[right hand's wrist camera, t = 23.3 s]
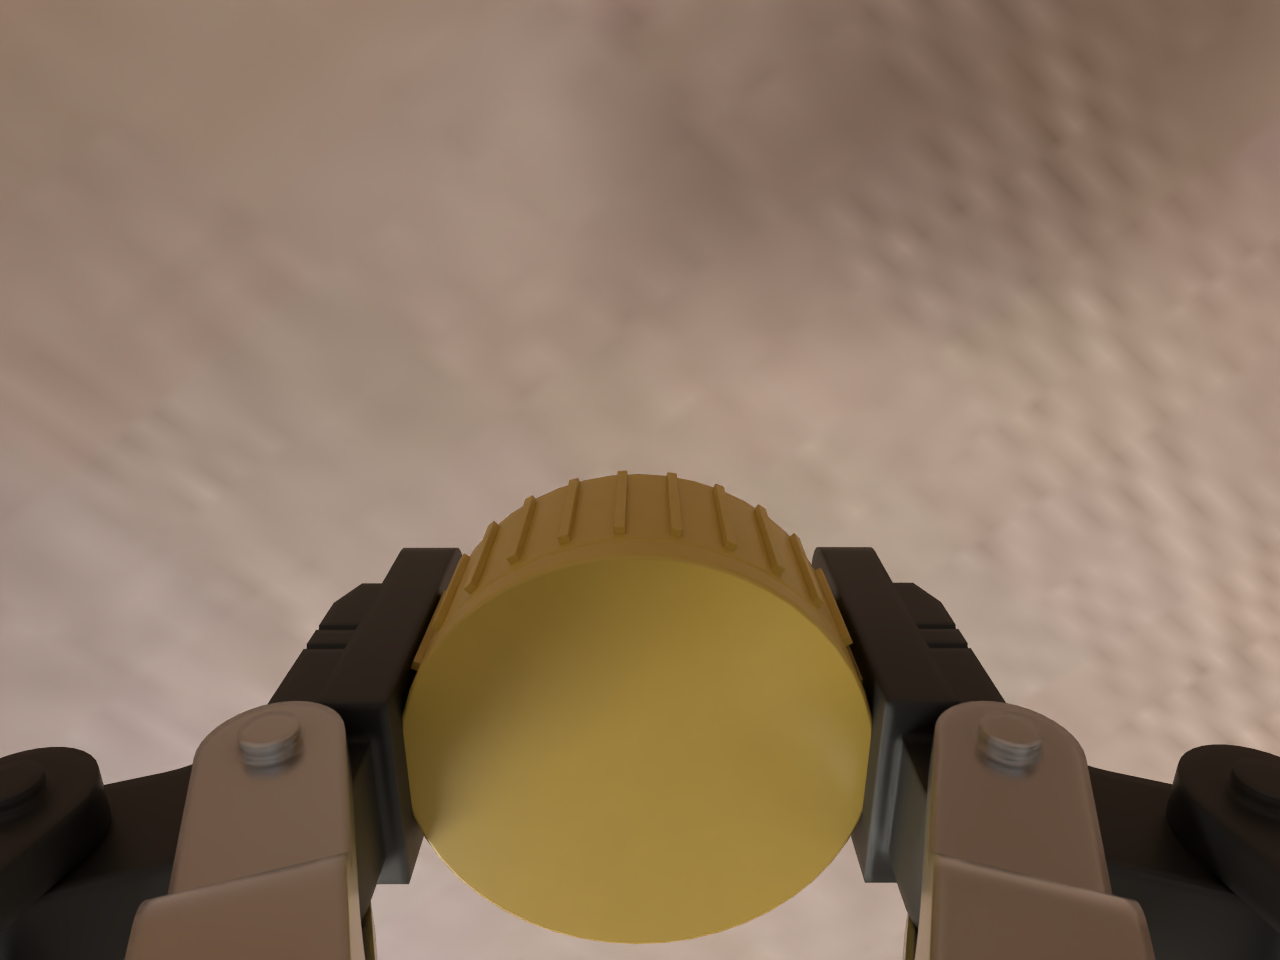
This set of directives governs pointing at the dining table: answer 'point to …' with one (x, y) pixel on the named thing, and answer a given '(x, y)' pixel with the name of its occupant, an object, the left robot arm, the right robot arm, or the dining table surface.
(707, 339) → the dining table surface
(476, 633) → the lid
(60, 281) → the dining table surface
